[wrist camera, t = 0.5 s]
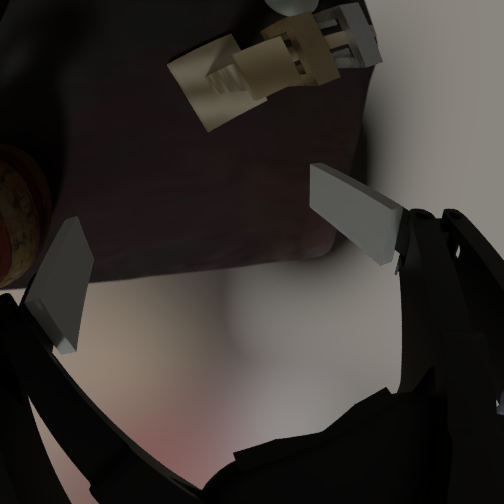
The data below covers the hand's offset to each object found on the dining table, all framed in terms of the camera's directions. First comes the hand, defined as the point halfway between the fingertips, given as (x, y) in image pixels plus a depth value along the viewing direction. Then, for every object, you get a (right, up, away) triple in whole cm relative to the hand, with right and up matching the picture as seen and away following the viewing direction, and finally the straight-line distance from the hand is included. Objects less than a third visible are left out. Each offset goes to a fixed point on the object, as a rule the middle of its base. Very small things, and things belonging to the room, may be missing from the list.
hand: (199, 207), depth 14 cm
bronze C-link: (+7, +21, +12) cm, 25 cm away
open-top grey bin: (+13, +25, +12) cm, 31 cm away
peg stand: (+3, +25, +20) cm, 32 cm away
